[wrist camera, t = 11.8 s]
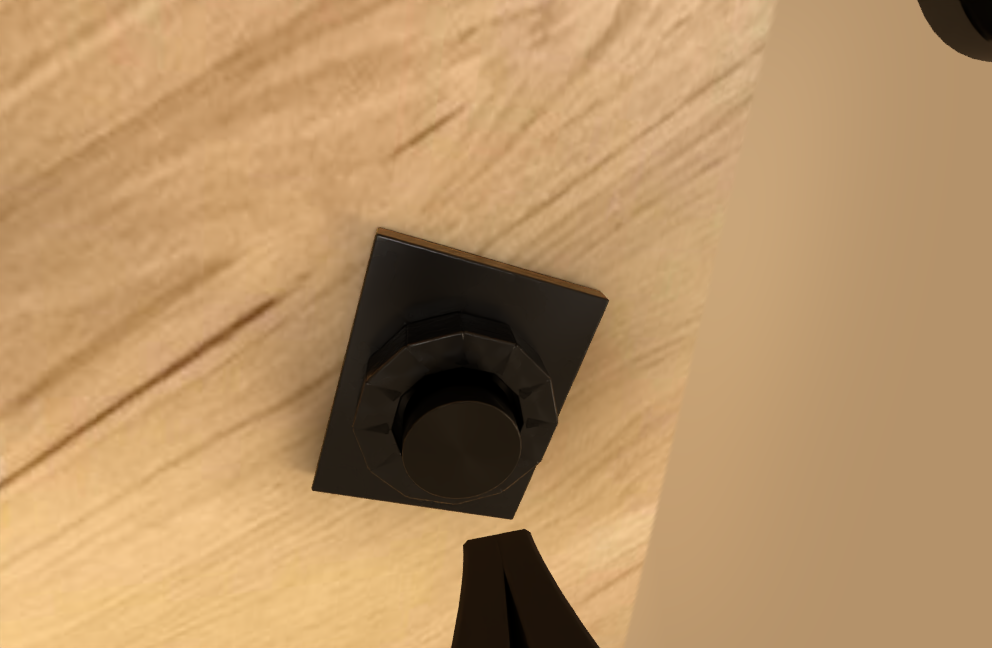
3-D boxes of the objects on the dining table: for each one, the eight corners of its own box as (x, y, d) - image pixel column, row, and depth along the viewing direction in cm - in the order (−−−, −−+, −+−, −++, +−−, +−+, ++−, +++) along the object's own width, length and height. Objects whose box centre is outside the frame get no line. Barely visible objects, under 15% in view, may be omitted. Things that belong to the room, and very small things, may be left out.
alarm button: (526, 384, 16) (538, 414, 15) (491, 470, 18) (499, 506, 16) (419, 360, 16) (420, 390, 14) (390, 453, 17) (388, 490, 15)
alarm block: (601, 290, 18) (628, 318, 16) (509, 504, 21) (520, 552, 19) (377, 226, 16) (372, 247, 14) (314, 474, 19) (302, 524, 17)
